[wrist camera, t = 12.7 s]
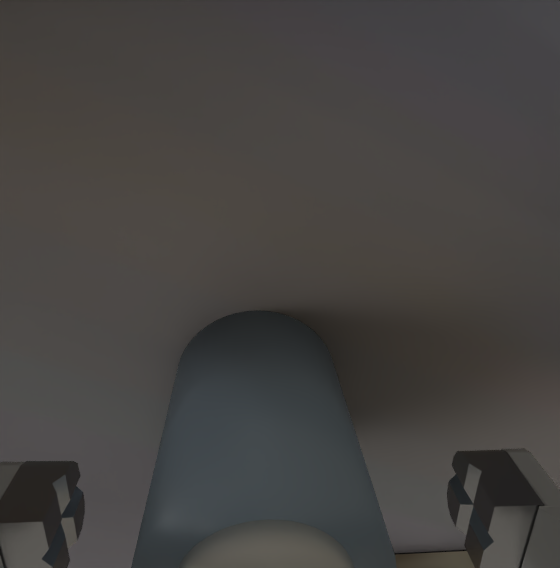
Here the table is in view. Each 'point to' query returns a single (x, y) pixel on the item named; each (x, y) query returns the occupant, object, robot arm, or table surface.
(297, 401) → the blue-grey cylinder
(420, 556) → the dock
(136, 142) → the table surface
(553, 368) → the table surface
